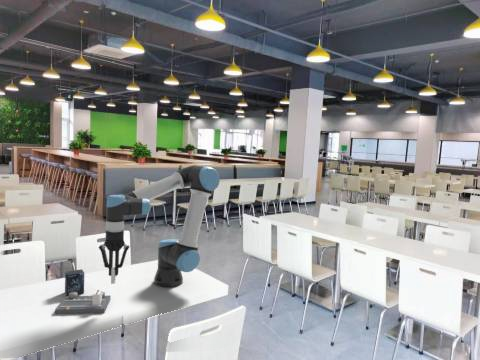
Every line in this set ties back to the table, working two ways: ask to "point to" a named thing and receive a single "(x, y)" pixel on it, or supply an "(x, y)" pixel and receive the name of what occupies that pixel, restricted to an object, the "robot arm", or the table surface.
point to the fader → (97, 297)
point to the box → (74, 282)
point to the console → (81, 304)
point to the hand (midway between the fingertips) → (113, 282)
